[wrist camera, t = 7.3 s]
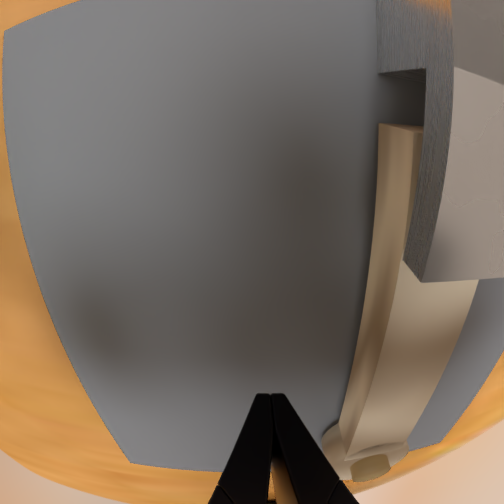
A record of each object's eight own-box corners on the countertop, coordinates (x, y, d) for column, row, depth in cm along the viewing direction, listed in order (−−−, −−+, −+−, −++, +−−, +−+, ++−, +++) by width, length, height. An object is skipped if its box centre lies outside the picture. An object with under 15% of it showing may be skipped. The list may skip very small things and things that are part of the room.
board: (437, 437, 18) (440, 442, 17) (131, 456, 17) (130, 462, 17) (565, 81, 7) (573, 82, 6) (12, 32, 6) (4, 31, 6)
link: (386, 440, 16) (398, 478, 13) (317, 453, 16) (323, 495, 13) (474, 132, 8) (536, 153, 5) (352, 121, 8) (399, 134, 5)
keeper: (475, 216, 10) (548, 273, 6) (359, 211, 10) (421, 283, 6) (492, 43, 7) (579, 45, 3) (369, 2, 7) (444, -43, 3)
